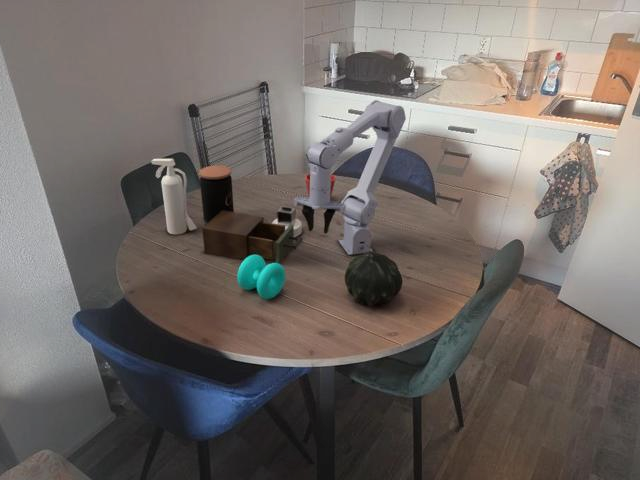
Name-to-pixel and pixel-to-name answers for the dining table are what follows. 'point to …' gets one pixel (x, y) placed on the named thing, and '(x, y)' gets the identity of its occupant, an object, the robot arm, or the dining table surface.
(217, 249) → the cabinet
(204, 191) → the coffee jar
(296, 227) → the white ridged disc
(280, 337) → the dining table surface
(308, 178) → the flower pot
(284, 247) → the drawer
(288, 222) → the cube with black handle
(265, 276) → the teal yo-yo
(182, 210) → the fire extinguisher
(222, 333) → the dining table surface
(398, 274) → the squash
